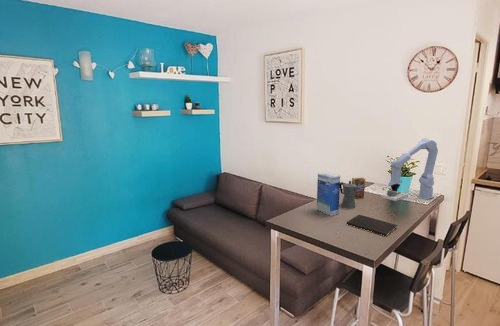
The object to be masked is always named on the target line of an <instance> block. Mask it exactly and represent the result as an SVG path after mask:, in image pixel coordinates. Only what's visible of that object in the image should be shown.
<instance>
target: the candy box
mask: <svg viewBox="0 0 500 326" xmlns="http://www.w3.org/2000/svg"><path fill="white" fill-rule="evenodd" d="M351 184H355V185H357V187H358V189H357V190H356V192H355V195H354V198H355V199H364V197H365V188H366V178H365V177H352V178H351Z"/></svg>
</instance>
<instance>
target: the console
mask: <svg viewBox="0 0 500 326" xmlns="http://www.w3.org/2000/svg"><path fill="white" fill-rule="evenodd" d="M380 198H383V199H386V200H389V201H393V202H398V201H400V200H402V199H406V198H408V193H404V192H400V191H397V195H396V196H394V197H393V196H390V195H387V192H386V193H382V194H381V197H380Z"/></svg>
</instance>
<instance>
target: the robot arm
mask: <svg viewBox="0 0 500 326" xmlns="http://www.w3.org/2000/svg"><path fill="white" fill-rule="evenodd" d="M437 143H438V142H436V141H435V140H433V139H429V138H422V139H421V140H420V141H418V142H417V144H415V146H414V147H412V148H411V149H409V150H408V152H404V153H403V152H402V153H401V155H400V156H398V157H397V158H396V159H394V160H392V162H391V164H390V165H391V166H392V167H391V168H392V169H391V179H390V180H389V182H388V186H390V188H391V190H393V191H397V192H398V189H399V188H400V186H401V184H402V179H401V171H402V168H403V166H404V165H405V164H406V163H407V162H408V161H410V160H411V159H412V158H411V157H412V156H413V155H415V154H417V153H418V152H419V151H421V150H426V151H427V152H428V154H427V157H426V162H425V165H424V172H422V174H421V176H420V177H419V179H418V182H419V183H420V184H419V191H418V192H419V193H418V195H417V196H416V198H420V199H424V200H431V199H433V198H434V196H433V194H434V193H433V192H434V188H433V186H434V185H435V181H434V179H435V177H434V175H433V173H434V168H435V165H436V162H437V161H436V160H437V156H438V153H439V150H438V146H437Z"/></svg>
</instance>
